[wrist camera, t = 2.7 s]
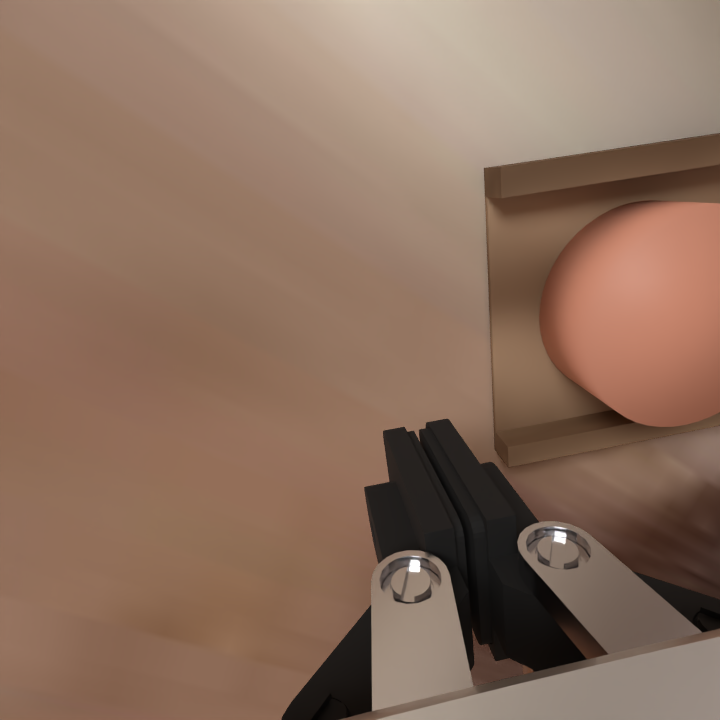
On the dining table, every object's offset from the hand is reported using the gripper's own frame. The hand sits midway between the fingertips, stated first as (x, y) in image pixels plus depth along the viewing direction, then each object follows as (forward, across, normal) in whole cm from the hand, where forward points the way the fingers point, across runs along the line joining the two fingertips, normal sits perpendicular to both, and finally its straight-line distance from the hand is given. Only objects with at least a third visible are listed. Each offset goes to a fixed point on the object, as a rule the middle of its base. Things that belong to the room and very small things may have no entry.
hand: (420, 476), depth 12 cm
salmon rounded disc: (+8, -11, -1) cm, 14 cm away
